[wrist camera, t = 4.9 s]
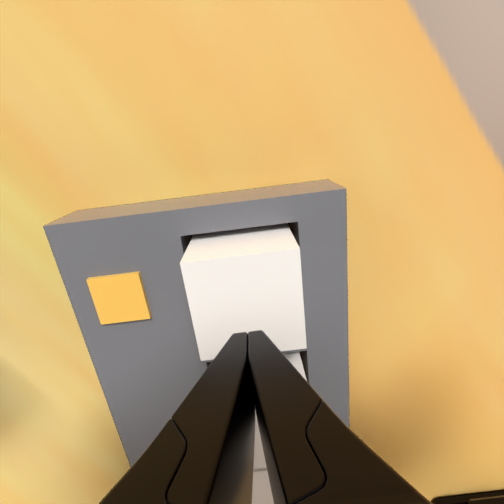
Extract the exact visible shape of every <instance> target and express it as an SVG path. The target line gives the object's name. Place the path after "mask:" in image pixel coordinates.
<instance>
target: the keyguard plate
mask: <svg viewBox="0 0 504 504" xmlns="http://www.w3.org/2000/svg"><path fill="white" fill-rule="evenodd" d="M283 223H290V230H291V232H292V234H293V236H294V238H295V240H296V242H297V244H298V246H299V248H300V257H301V271H302V286H303V300H304V315H305V329H306V344H307V348H306V349H297V350H289V351H281V352H282V353H291V352H299V351H300V357H301V361H302V365H303V368H304V372H305V376H306V380H307V382H308V383H309V384H310V385H311V387H312V388H313V389H314V390H315V391H316V392H317V393H318V395H319V396H320V397H321V398H322V399H323V401H324V402H326V404H327V405H328V406H329V407H330V408H331V409H332V411H333V412H334V413H335V414H336V415H337V416H338V417H339V418H340V419H341V420H342V421H343V422H344V424H345V425H346V426H347V427H348V428H349V361H348V285H347V209H346V188H344V187H342V186H340V185H338V184H336V183H334V182H332V181H330V180H328V179H327V180H319V181H311V182H303V183H295V184H287V185H279V186H271V187H262V188H254V189H246V190H238V191H230V192H222V193H214V194H206V195H198V196H190V197H182V198H174V199H166V200H158V201H150V202H142V203H134V204H126V205H118V206H110V207H102V208H94V209H86V210H77V211H75V212H73V213H70V214H68V215H66V216H64V217H62V218H60V219H57V220H55V221H53V222H51V223H49V224H47V225H44V226H43V227H44V230H45V233H46V236H47V238H48V241H49V244H50V247H51V249H52V252H53V255H54V258H55V260H56V263H57V266H58V269H59V271H60V274H61V277H62V280H63V282H64V285H65V288H66V291H67V293H68V296H69V299H70V302H71V304H72V307H73V310H74V313H75V315H76V318H77V321H78V324H79V326H80V329H81V332H82V335H83V337H84V340H85V343H86V346H87V348H88V351H89V354H90V357H91V359H92V362H93V365H94V368H95V370H96V373H97V376H98V379H99V381H100V384H101V387H102V390H103V392H104V395H105V398H106V401H107V403H108V406H109V409H110V412H111V414H112V417H113V420H114V423H115V425H116V428H117V431H118V434H119V436H120V439H121V442H122V445H123V447H124V450H125V453H126V456H127V458H128V461H129V464H130V467H132V466H133V464H134V463H135V462H136V461H137V460H138V459H139V457H140V456H141V455H142V454H143V453H144V452H145V450H146V449H147V448H148V447H149V445H150V444H151V443H152V442H153V440H154V439H155V438H156V436H157V435H158V434H159V433H160V431H161V430H162V429H163V427H164V426H165V424H166V423H167V422H168V420H169V419H171V417H172V415H173V414H174V412H175V411H176V410H177V408H178V407H179V406H180V404H181V403H182V402H183V400H184V399H185V398H186V396H187V395H188V394H189V392H190V391H191V389H192V388H193V387H194V385H195V384H196V383H197V381H198V380H199V379H200V377H201V376H202V375H203V373H204V372H205V370H206V369H207V368H208V366H209V365H210V364H211V362H212V361H213V360H214V359H213V360H204V361H201V360H200V355H199V350H198V346H197V341H196V336H195V332H194V327H193V322H192V318H191V313H190V308H189V304H188V299H187V294H186V290H185V285H184V281H183V276H182V271H181V267H180V262H181V260H182V257H183V255H184V253H185V251H186V249H187V247H188V245H189V243H190V241H191V239H192V237H193V234H202V233H210V232H218V231H226V230H234V229H242V228H250V227H258V226H267V225H275V224H283Z"/></svg>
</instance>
